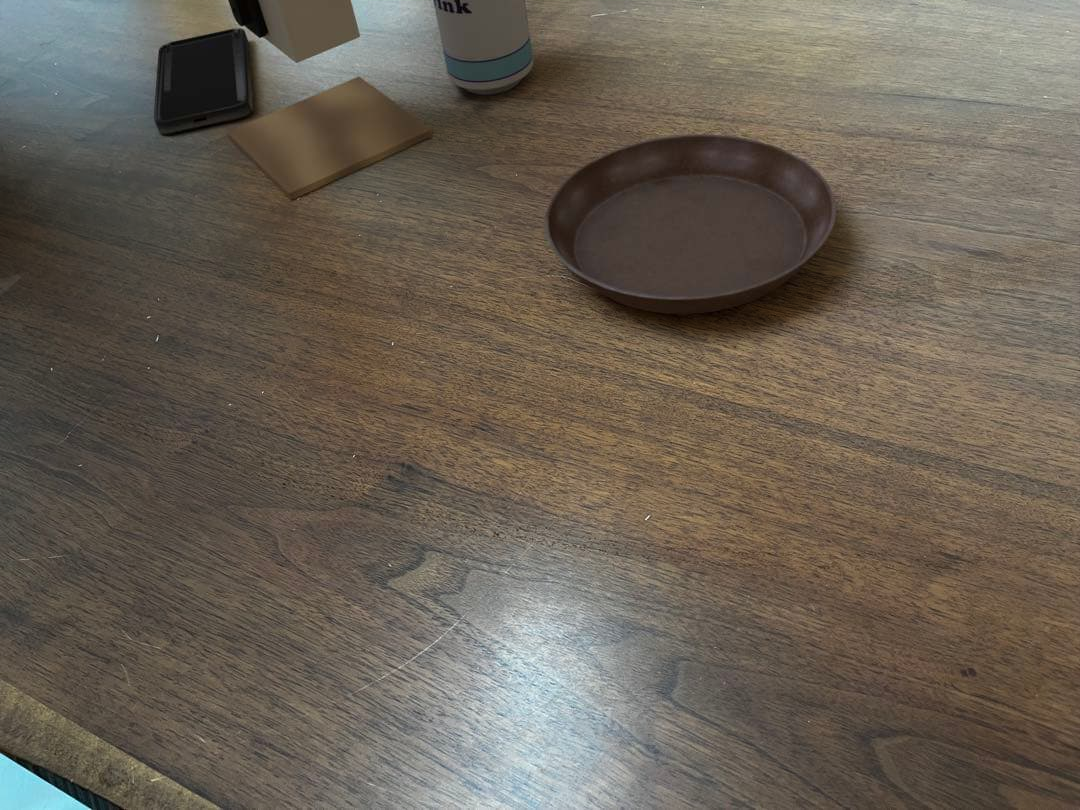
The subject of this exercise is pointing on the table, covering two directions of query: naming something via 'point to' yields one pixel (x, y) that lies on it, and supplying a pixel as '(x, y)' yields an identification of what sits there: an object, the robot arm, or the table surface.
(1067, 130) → the table surface
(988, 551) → the table surface
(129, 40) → the table surface
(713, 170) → the plant saucer
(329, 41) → the clock
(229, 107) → the phone
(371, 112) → the pad
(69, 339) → the table surface
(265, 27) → the robot arm
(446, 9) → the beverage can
